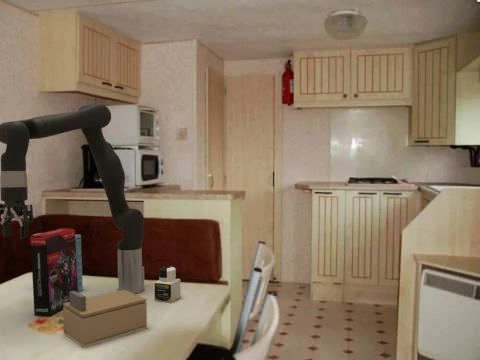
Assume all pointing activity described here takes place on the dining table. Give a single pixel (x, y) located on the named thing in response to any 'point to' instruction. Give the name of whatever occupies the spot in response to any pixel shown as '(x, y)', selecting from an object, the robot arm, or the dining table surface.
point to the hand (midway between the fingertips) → (15, 237)
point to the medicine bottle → (167, 285)
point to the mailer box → (104, 324)
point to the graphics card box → (53, 270)
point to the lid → (101, 302)
